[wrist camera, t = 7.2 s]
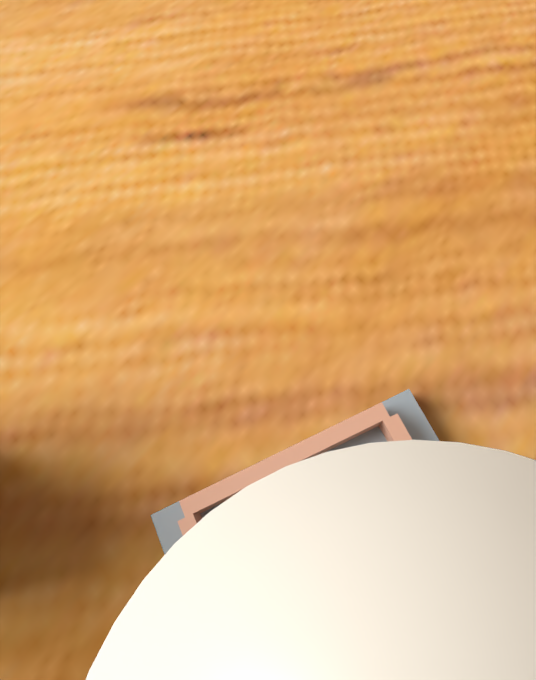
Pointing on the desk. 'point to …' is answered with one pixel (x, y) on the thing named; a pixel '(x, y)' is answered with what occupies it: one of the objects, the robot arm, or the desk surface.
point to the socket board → (300, 459)
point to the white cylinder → (348, 575)
